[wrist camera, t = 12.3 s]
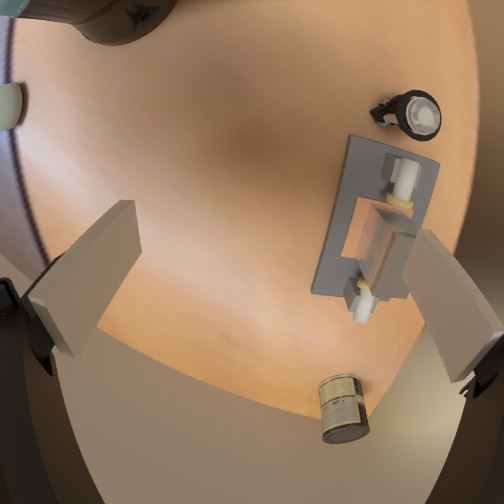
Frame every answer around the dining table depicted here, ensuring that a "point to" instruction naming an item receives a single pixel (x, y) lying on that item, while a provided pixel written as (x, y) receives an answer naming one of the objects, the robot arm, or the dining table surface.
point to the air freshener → (10, 105)
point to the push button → (411, 114)
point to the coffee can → (343, 409)
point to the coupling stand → (355, 212)
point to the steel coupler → (385, 250)
